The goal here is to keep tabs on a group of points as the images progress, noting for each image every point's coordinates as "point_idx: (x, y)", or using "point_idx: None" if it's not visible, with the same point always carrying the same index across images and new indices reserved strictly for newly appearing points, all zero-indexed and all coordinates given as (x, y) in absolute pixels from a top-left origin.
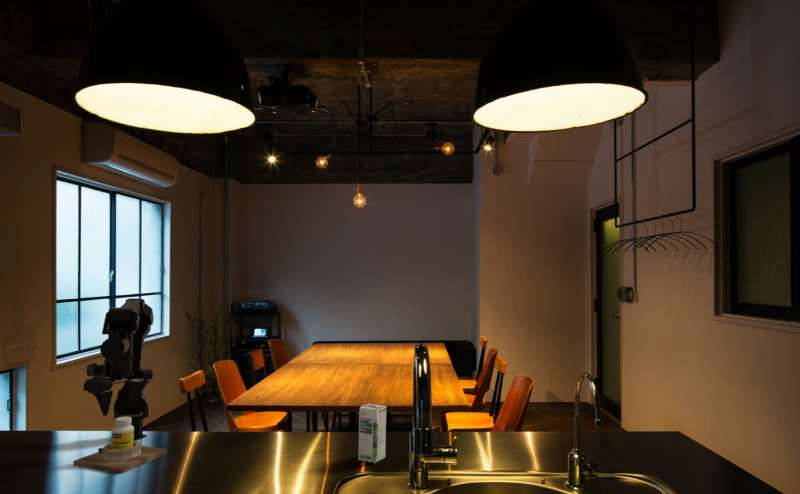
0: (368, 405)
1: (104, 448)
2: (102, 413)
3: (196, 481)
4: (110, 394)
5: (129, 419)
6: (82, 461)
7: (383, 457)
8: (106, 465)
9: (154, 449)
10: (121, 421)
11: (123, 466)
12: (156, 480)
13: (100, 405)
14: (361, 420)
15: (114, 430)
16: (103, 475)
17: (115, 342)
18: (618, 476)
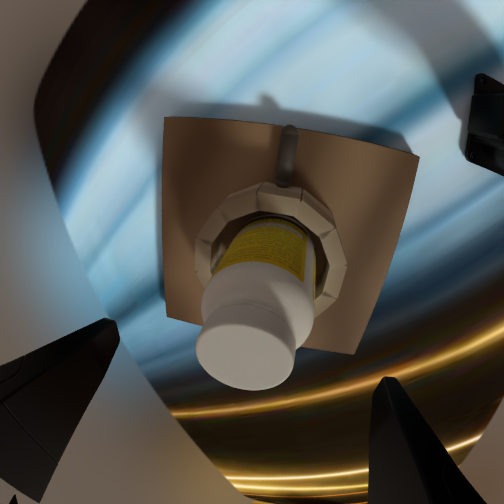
0: None
1: (214, 219)
2: (94, 323)
3: (203, 428)
4: (35, 474)
5: (241, 388)
6: (169, 155)
7: None
8: (169, 264)
9: (351, 323)
10: (203, 363)
11: (183, 313)
12: (177, 384)
13: (41, 357)
14: None
15: (202, 302)
16: (146, 272)
17: None
18: None
